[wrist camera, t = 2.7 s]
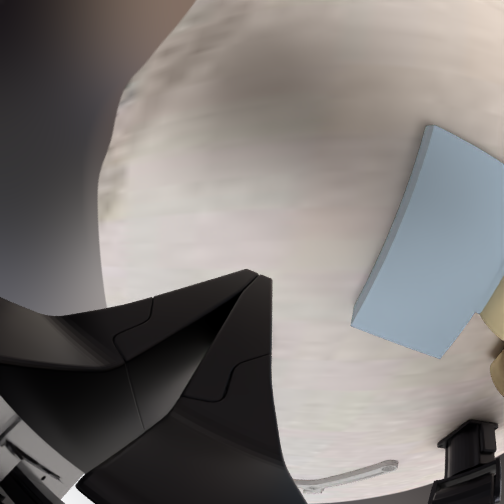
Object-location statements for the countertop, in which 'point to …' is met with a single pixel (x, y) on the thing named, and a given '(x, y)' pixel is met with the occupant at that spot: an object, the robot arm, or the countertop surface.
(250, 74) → the countertop surface
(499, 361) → the wooden tray with rolls
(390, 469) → the adjustable wrench
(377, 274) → the light blue block
